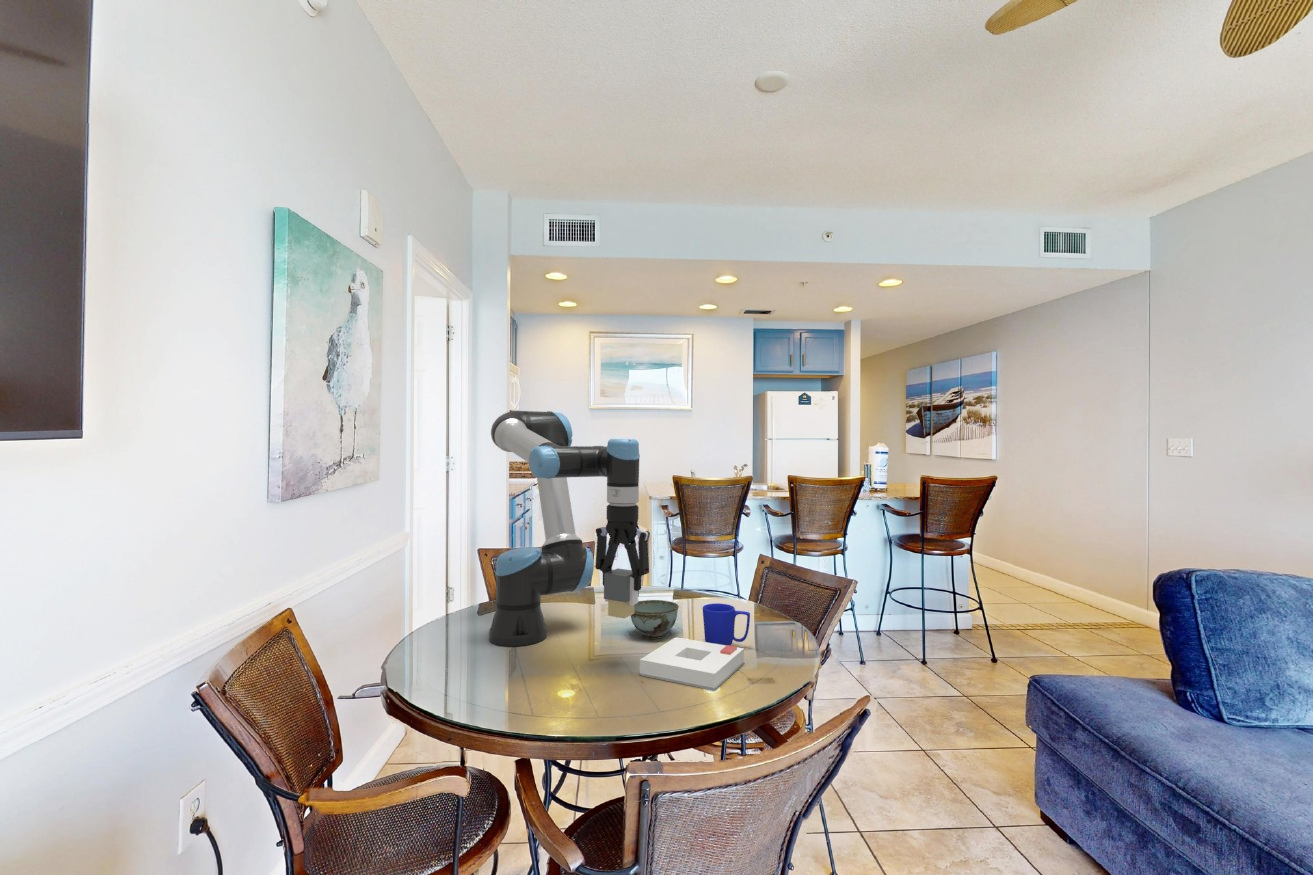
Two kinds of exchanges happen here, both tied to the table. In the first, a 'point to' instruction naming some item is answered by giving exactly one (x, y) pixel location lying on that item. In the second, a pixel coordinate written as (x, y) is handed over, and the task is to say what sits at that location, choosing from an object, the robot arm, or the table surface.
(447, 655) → the table surface
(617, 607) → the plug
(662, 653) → the socket plate
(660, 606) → the bowl
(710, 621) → the mug
